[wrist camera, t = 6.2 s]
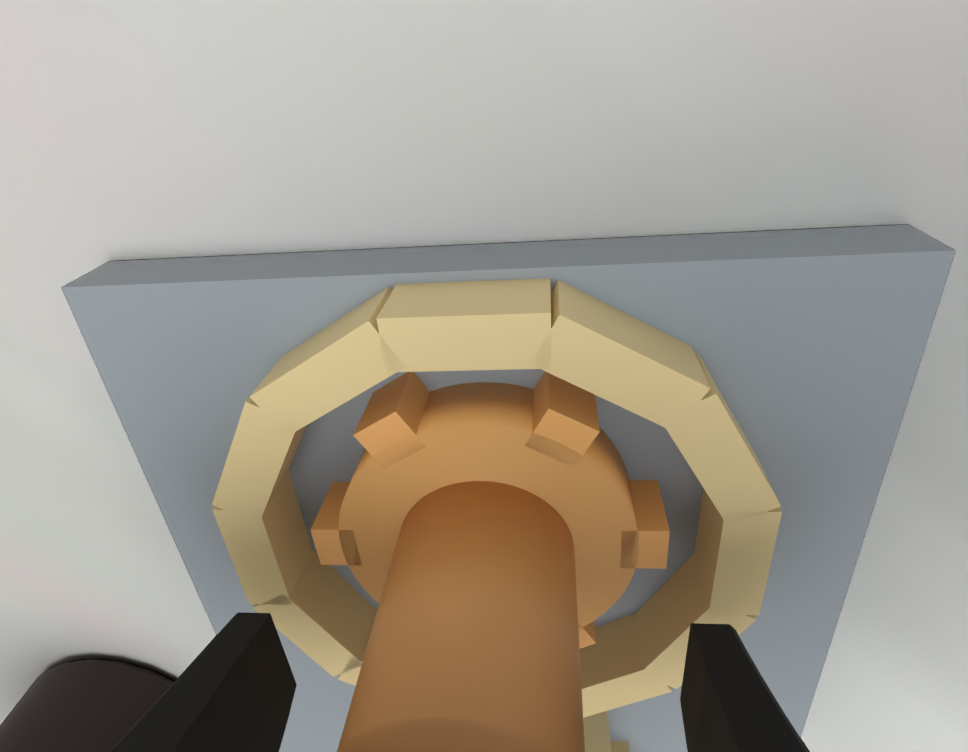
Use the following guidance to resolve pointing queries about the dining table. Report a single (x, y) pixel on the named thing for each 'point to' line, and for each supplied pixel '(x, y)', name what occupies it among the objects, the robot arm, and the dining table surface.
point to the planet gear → (484, 561)
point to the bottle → (81, 707)
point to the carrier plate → (522, 361)
